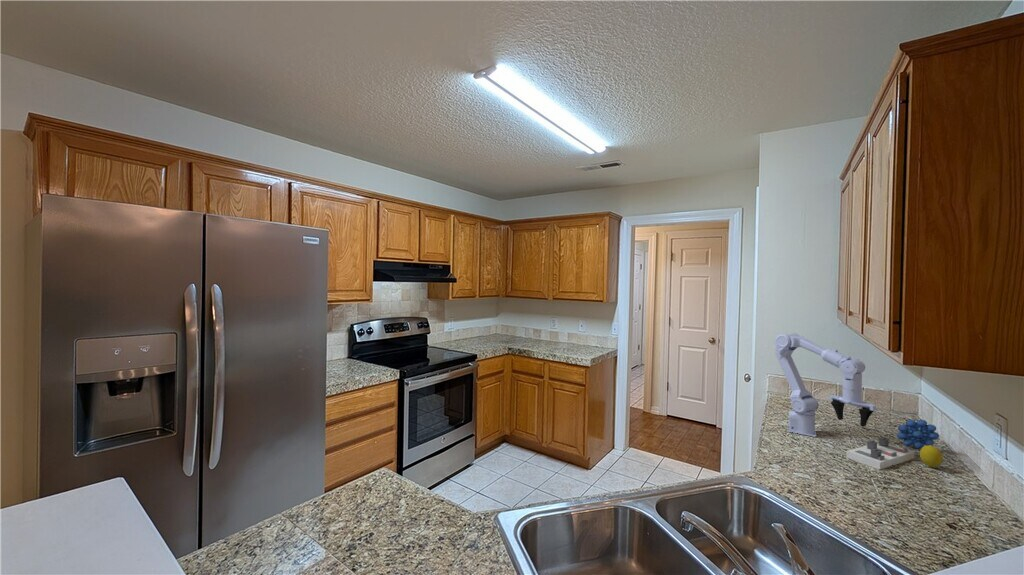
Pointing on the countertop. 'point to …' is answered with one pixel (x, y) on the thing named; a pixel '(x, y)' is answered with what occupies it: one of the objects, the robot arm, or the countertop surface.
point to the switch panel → (887, 458)
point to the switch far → (883, 441)
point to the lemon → (931, 456)
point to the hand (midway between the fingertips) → (851, 422)
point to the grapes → (917, 433)
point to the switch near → (875, 453)
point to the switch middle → (872, 444)
